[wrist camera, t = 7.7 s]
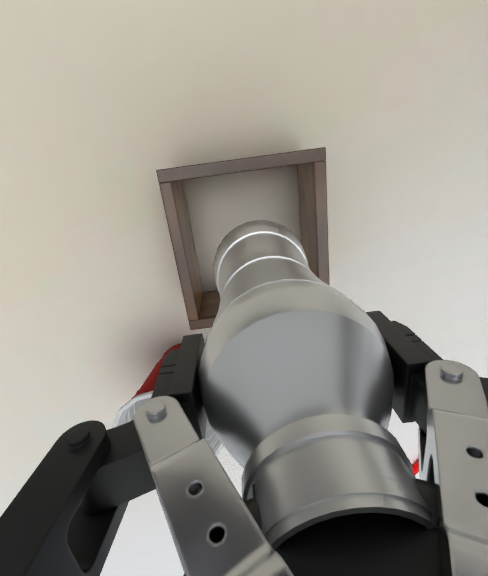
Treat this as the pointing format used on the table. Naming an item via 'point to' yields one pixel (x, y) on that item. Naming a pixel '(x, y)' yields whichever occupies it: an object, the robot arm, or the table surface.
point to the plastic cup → (145, 394)
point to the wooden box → (171, 185)
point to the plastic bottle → (301, 390)
